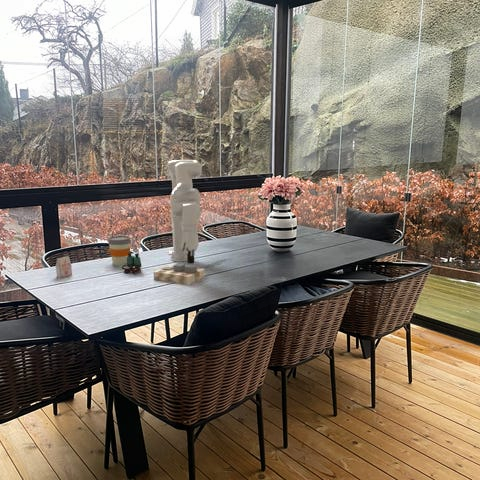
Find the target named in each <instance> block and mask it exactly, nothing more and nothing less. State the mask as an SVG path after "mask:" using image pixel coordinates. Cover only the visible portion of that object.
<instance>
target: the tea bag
mask: <svg viewBox="0 0 480 480" xmlns="http://www.w3.org/2000/svg"><path fill="white" fill-rule="evenodd" d="M55 270H56V273H55V274H56V277H57V278H59V279H61V278H65V277H66V278H67V277H69V276H73V269H72V262H71V259H70V256H64V257H60V258H59V257H58V258H57V259H56V263H55Z"/></svg>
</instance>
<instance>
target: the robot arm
mask: <svg viewBox="0 0 480 480" xmlns="http://www.w3.org/2000/svg"><path fill="white" fill-rule="evenodd" d="M167 171H168V174H169V177H170V180H171V185H172V186H171V188H172V190H171V193H170V197H169V206H170V220H171V227H172V251H170V250H169V251H168V253H167V255H168V256H171V257H170V260H171V261H172V262H177V263H181V262H183V263H184V262H187V264H189V265H193V264H195V254H196V251H197V250H198V248H199V234H198V223H199V222H200V220H201V195H200V191H199V190H198V189H197V188H193V186H194V185H193V180H192V178H200V177H201V176H202V174H203V172H202V171H203V169H202V165H201V163H200V162H199V161H198V160H196V159H174V160H170V161H168V163H167Z"/></svg>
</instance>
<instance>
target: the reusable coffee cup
mask: <svg viewBox="0 0 480 480" xmlns="http://www.w3.org/2000/svg"><path fill="white" fill-rule="evenodd" d="M107 244H108V245H109V247H108V250H109V254H110V256H111V261H112V265H115V266H123V265H125V264H126V263H127V257H128V252H130V253H131V237H130V236H127V235H115V236H111V237H108V243H107Z"/></svg>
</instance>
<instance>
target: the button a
mask: <svg viewBox="0 0 480 480" xmlns="http://www.w3.org/2000/svg"><path fill="white" fill-rule="evenodd" d="M164 267H165V268H164ZM164 267H162V268H163V269H162V268H161V269H162V270H169V271H170V270H172V269H174V267H167V266H164Z"/></svg>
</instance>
